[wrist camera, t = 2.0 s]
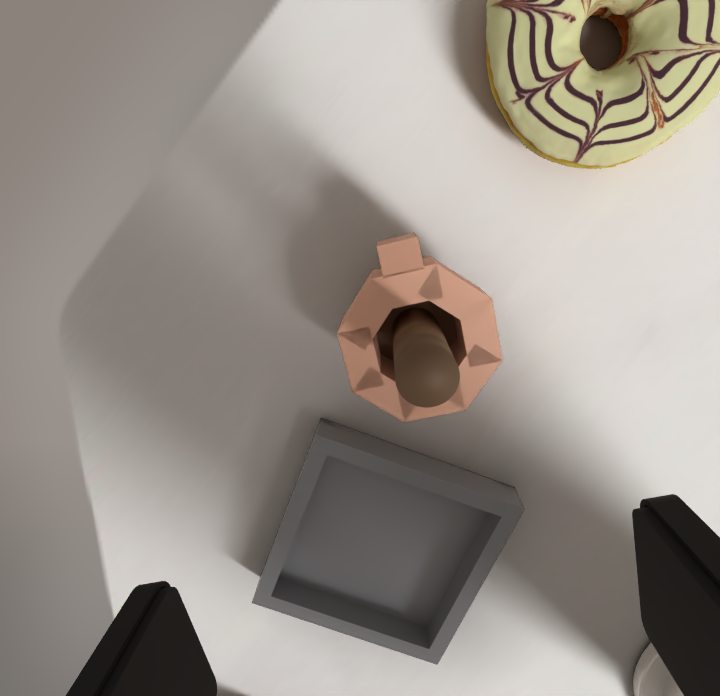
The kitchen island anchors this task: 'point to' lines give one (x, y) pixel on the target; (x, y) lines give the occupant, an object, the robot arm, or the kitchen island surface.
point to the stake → (421, 352)
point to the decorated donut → (601, 75)
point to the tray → (385, 542)
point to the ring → (405, 287)
